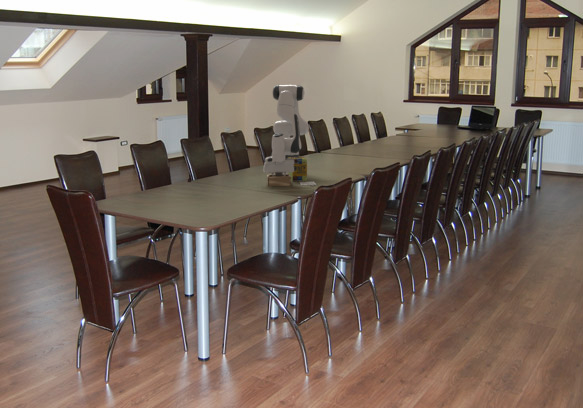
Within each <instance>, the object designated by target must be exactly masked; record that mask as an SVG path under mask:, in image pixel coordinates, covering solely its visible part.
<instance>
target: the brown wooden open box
mask: <svg viewBox="0 0 583 408" xmlns="http://www.w3.org/2000/svg"><path fill="white" fill-rule="evenodd" d="M273 175H274V176H275V173H274V174H273ZM266 184H267V186H268V187H275V186H276V187H278V186H279V187H284V186H285V187H286V186H291V187H292V180H291V176H290V174H286V175H285V176H284V174H283V176H277V177H273V176H272V173H267V175H266Z"/></svg>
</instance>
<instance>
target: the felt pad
mask: <svg viewBox="0 0 583 408" xmlns="http://www.w3.org/2000/svg"><path fill="white" fill-rule="evenodd" d="M298 182H299V184H300V186H309V187H316V186H317V184H316V182H315V181H298Z"/></svg>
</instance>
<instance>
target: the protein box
mask: <svg viewBox="0 0 583 408" xmlns="http://www.w3.org/2000/svg"><path fill="white" fill-rule="evenodd" d="M288 158H292V159H294V172H288V174H290V176H291V182H308V158H306V157H304V156H300V157H288Z"/></svg>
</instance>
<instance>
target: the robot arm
mask: <svg viewBox="0 0 583 408" xmlns="http://www.w3.org/2000/svg"><path fill="white" fill-rule="evenodd" d="M271 92H272V93H271V94H272V97H273V99H275V100H276V101H277V105H276V114H277V117H279V119H281V120H277V121H275V122H274V124H273V127H272V129H273V132H274V134H273V135H272V137H271V150H272V152H271V155H270V156H267V157H265V162H264V163H263V170H262V171H263V173H265V174H272V176H273V177H275V176H274V175H273V174H275V173H283V174H284V176H285V175H286V174H288V172H294V159H292V158H288V157H301V155H300V152H301V149H302V142H301V136H304V135H307V134H308V132H309V129H310V126H309V124H308V122H307V121H306V120H305V119H303V117H302V116H301V115H300V111H299V101H302V100H303V99H304V97H305V88H304V87H303V86H302V85H299V84H276V85H274V87H273V88H272V91H271Z"/></svg>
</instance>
